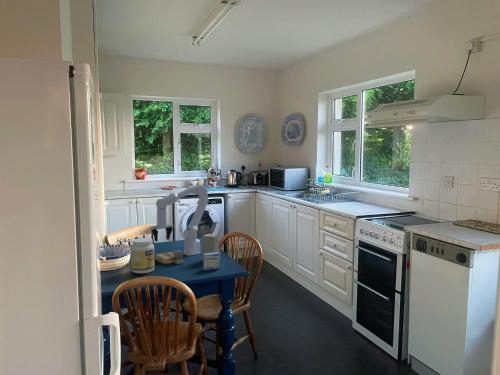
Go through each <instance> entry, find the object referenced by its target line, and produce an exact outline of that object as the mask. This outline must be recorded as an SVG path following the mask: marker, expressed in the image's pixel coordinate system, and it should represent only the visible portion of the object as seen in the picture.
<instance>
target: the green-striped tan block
mask: <svg viewBox="0 0 500 375" xmlns="http://www.w3.org/2000/svg"><path fill="white" fill-rule="evenodd" d="M154 261H157V262H159V263H160V264H163V265H166V264H171V263H174V251H170V252H169V251H168V252H163V253H156V254H154Z"/></svg>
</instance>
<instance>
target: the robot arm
mask: <svg viewBox="0 0 500 375" xmlns="http://www.w3.org/2000/svg"><path fill="white" fill-rule="evenodd" d="M208 193H209V191H208V189H207V187H206V186H205V185H201V184H195V185H191V186H190V187H188V188H185V189H184V190H183V189H182V190H181V191H179V192H178V193H175V192H171V193H169V194H168V195H166V196H162V198H158V199H157V200H156V201H155V206H156V225H153V226H149V231H151V233H152V235H153V238H154V241H155V242H159V241H158V239H159V238H158V234H159V230H163V229H165V232H166V233H165V234H166V235H165V237H166V240H167V241H169V240H170V236H171V233H172V232H173V228H174V224H172V223H169V224H167V220H168V219H167V216H168V215H167V208H168V206H171V205H173V204H174V203H177V202H179V199H181V198H184V197H186V196H189V195H196V196H197V198H198V200H199V201H198V204H197V206H196V207H195V211H194V213H193V215H192V218H191V221H190V223H189V224H188V225H187V227H186V228H185V229H184V231H183V236H184V251H183V255H185V256H189V257H190V256H194V255H199V254H202V253H201V241H200V239H198V238H197V237H198V230H199V229H198V227H199V225H200V222H201V219H202V217H203V215H204V213H205V210H206V208H207V205H208V202H209V195H208Z"/></svg>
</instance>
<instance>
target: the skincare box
mask: <svg viewBox="0 0 500 375" xmlns="http://www.w3.org/2000/svg"><path fill="white" fill-rule="evenodd" d="M219 238H220V236H219V234H218V233H217V234H214V233H206V234H203V235H201V245H202V260H203V262H204V256H203V254H204V253H214V252H217V253H219V261H221V255H220V254H221V253H220V250H221V249H220V239H219Z"/></svg>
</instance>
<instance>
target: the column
mask: <svg viewBox="0 0 500 375" xmlns="http://www.w3.org/2000/svg"><path fill="white" fill-rule="evenodd" d="M173 252H174V262H173V263H174V265H181V264H184V254H183V252H184V250H181V249H178V250H173Z"/></svg>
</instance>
